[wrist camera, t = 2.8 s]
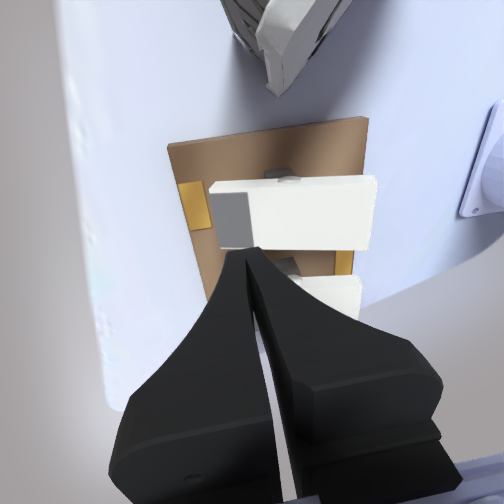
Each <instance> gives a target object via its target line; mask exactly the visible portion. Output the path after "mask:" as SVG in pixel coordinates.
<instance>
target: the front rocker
mask: <svg viewBox="0 0 504 504" xmlns="http://www.w3.org/2000/svg"><path fill="white" fill-rule="evenodd" d="M377 187H378V182H377V180H376V178H375V176H374V175H373V174H372V175H349V176H326V177H303V178H300V177H297V176H286V177H282V178H280V179H257V180H234V181H215V183H214V184H213V185H212V186H211V187H210V189H209V199H210V204H211V209H212V214H213V219H214V223H215V228H216V233H217V238H218V243H219V247H220V248H221V249H245V248H251V247H257V246H259V247H260V248H261V249H267V250H354V251H368V250H369V243H370V236H371V229H372V222H373V215H374V208H375V201H376V194H377Z"/></svg>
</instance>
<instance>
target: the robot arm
mask: <svg viewBox="0 0 504 504" xmlns="http://www.w3.org/2000/svg"><path fill="white" fill-rule="evenodd" d="M473 209H474V210H473ZM502 211H504V98H503V99H500V100H499V101H497V102H496V104H495V105H494V107H493V109H492V112H491V115H490V118H489V122H488V125H487V128H486V131H485V134H484V137H483V140H482V143H481V146H480V149H479V152H478V155H477V158H476V161H475V165H474V168H473V171H472V174H471V177H470V180H469V183H468V186H467V189H466V192H465V195H464V198H463V201H462V204H461V208H460V211H459V214H460V215H461V216H463V217H465V218H467V217H473V216H478V215H484V214H490V213H496V212H502ZM253 311H254V314H253ZM254 315H255V318H256V321H257V324H258V328H259V331H260V334H261V337H262V341H263V344H264V347H265V350H266V353H267V356H268V360H269V364H270V368H271V372H272V377H273V381H274V386H275V391H276V396H277V400H278V405H279V410H280V415H281V420H282V424H283V429H284V434H285V439H286V444H287V449H288V454H289V459H290V464H291V469H292V474H293V479H294V484H295V489H296V494H297V499H295V500H290V501H286V502H283V497H282V489H281V481H280V471H279V464H278V456H277V448H276V441H275V434H274V427H273V419H272V413H271V408H270V403H269V398H268V393H267V388H266V383H265V379H264V374H263V370H262V365H261V361H260V356H259V352H258V347H257V342H256V337H255V325H254ZM442 390H443V383H442V379H441V378H440V376H439V375H438V374H437V372H436V371H435V370H434V369H433V367H432V366H431V365H430V363H429V362H428V361H427V360H426V358H425V357H424V356H423V355H422V354H421V353H420V352H419V351H418V350H417V349H416V348H415V346H414V345H413V344H412V343H411V342H410V341H408V340H406V339H403V338H400V337H398V336H394V335H392V334H389V333H387V332H384V331H381V330H379V329H376V328H373V327H371V326H369V325H366V324H364V323H362V322H360V321H357V320H355V319H353V318H351V317H349V316H347V315H345V314H343V313H341V312H339V311H337V310H335V309H334V308H332V307H330V306H328V305H326V304H325V303H323V302H321V301H320V300H318V299H317V298H315V297H314V296H312V295H311V294H309V293H308V292H307V291H305V290H304V289H302V288H301V287H300V286H299V285H297V284H296V283H295V282H294V281H293V280H291V279H290V278H289V277H288V276H287V275H286V274H285V273H284V272H283V271H281V270H280V269H279V268H278V267H277V266H276V265H275V264H274V263H273V262H272V261H271V259H270V258H269V257H268V256H267V255H266V254H265V253H264V251H263V250H262V249H261V248H260V247H259V246H257V247H251V248H245V249H239V250H233V251H228V252H227V253H226V254H225V260H224V264H223V268H222V271H221V274H220V276H219V279H218V281H217V284H216V286H215V288H214V291H213V293H212V295H211V297H210V299H209V301H208V303H207V305H206V306H205V308H204V310H203V312H202V313H201V315H200V317H199V318H198V320H197V321H196V323H195V324H194V326H193V327H192V329H191V330H190V331H189V333H188V334H187V336H186V337H185V338H184V340H183V341H182V342H181V343H180V345H179V346H178V347H177V348H176V349H175V351H174V352H173V353H172V354H171V355H170V356H169V358H168V359H167V360H166V361H165V362H164V363H163V365H162V366H161V367H160V368H159V369H158V370H157V371H156V372H155V373H154V374H153V375H152V376H151V377H150V378H149V379H148V380H147V381H146V382H145V383H144V384H143V385H142V386H141V387H140V388H139V389H138V390H136V391H135V392H134V393H133V394H132V395H131V396H130V398H129V401H128V403H127V406H126V409H125V411H124V414H123V417H122V420H121V422H120V425H119V428H118V432H117V436H116V440H115V444H114V448H113V452H112V456H111V460H110V464H109V473H108V475H109V477H110V478H111V480H112V482H113V483H114V485H115V486H116V487H117V488H118V489H119V490H120V491H121V492H122V493H123V494H124V495H125V496H126V497H127V498H128V499H129V500H130V501H131V502H132V503H133V504H504V452H503V453H499V454H494V455H490V456H486V457H481V458H477V459H472V460H468V461H463V462H459V463H454V464H453V462H452V461H451V459H450V457H449V456H448V454H447V453H446V451H445V450H444V448H443V447H442V445H441V443H440V442H439V440H440V439H441V437H442V436H441V433H440V431H439V430H438V428H437V427H436V425H435V423H434V422H433V420H432V419H431V417H432V415H433V413H434V411H435V409H436V407H437V405H438V403H439V400H440V398H441V394H442Z"/></svg>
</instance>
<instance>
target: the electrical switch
mask: <svg viewBox="0 0 504 504" xmlns="http://www.w3.org/2000/svg"><path fill="white" fill-rule="evenodd" d="M220 1H221V3H222V6H223V8H224V11H225V13H226V15H227V18H228V20H229V23H230V25H231V28H232V30H233V31H234V32H235V33H236V34H237V35H238V36H239V37H240V38H241V39H243V40H244V41H245V42H246V43H247V44H248V45H249V46H250V48H251V50H250V52H252V53H253V54H254V55H256V56H257V57H258V58H260V59H261V60H262V61H263V62H264V63H265V64H266V70H267V77H268V83H267V84H266V88H267V89H269V90H270V91H271V92H272V93H274V94H275V95H276V96H277V97H280V96H281V95H282V94H283V93H284V92H285V91H286V90H287V89H288V88H289V87H290V86H291V84H292V83H293V82H294V80H295V79H296V77H297V76H298V75H299V73H300V72H301V71H302V69H303V68H304V67H305V65H306V64H307V62H308V61H309V60H310V58H311V57H312V56H313V55H314V53H315V52H316V51H317V49H318V48H319V47H320V45H321V44H322V42H323V41H324V39H325V38H326V37H327V35H328V34H329V32H330V31H331V30H332V28H333V27H334V26H335V24H336V23H337V22H338V20H339V19H340V17H341V16H342V15H343V13H344V12H345V11H346V9H347V8H348V7H349V5H350V4H351V2H352V1H353V0H220Z"/></svg>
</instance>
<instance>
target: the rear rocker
mask: <svg viewBox="0 0 504 504" xmlns="http://www.w3.org/2000/svg"><path fill="white" fill-rule="evenodd" d="M288 277H289V278H290V279H291V280H293V281H294V282H295V283H296V284H297V285H299V286H300V287H301V288H302V289H304V290H305V291H307V292H308V293H309V294H311V295H312V296H314V297H315V298H317V299H318V300H320V301H321V302H323V303H325V304H326V305H328V306H330V307H332V308H334V309H335V310H337V311H339V312H341V313H343V314H345V315H347V316H349V317H351V318H353V319H355V320H357V321H358V316H359V309H360V302H361V295H362V288H363V287H362V285H361V282H360V280H359V277H358V275H338V276H315V277H300V276H298V275H288ZM253 314H254V311H253ZM254 325H255V331H259V328H258V324H257V321H256V318H255V315H254Z"/></svg>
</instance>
